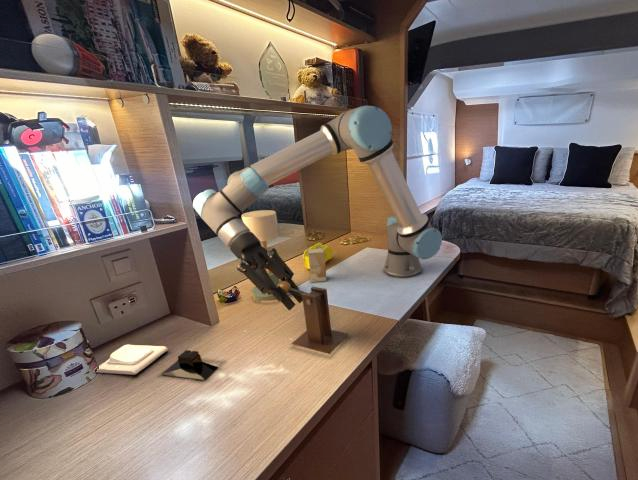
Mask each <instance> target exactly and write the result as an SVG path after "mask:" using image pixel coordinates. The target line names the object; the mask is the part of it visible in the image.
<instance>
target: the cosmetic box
mask: <svg viewBox="0 0 638 480" xmlns="http://www.w3.org/2000/svg"><path fill="white" fill-rule="evenodd" d="M307 251H308V256H309V266H310V269H309V275H310V282H311V283H317V282H327V268H326V262H325V254H324V249H314V250H307Z"/></svg>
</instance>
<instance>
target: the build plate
mask: <svg viewBox="0 0 638 480" xmlns="http://www.w3.org/2000/svg"><path fill="white" fill-rule="evenodd" d="M201 356H202V355H201V354H200V353H199V351H198V350H188V349H185V350H184V351H183V352H181V353H180V354H179V355H178V356H177V360H176V361H175V362H174V363H173V364H171V365H170V366H169V367H168V368H166V369H165V370H164V371H163V372H162V373H161V376H162V377H163V376H164V377H171V378H180V379H185V380H186V379H187V380H194V381H196V382H204V381H207V380H208V378H209V377H211V376H212V374H213V373H214V372H215V371H216V370H217V369H218V368H219V366H217V365H213V364H210V363H207V362H205V361H203V360H202V359H203V358H202V357H201Z"/></svg>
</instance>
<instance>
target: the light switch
mask: <svg viewBox="0 0 638 480" xmlns="http://www.w3.org/2000/svg"><path fill="white" fill-rule="evenodd" d="M167 351H169V350H168V347H167V346H164V345H141V344H124V345H123V346H120V348H118V349H116V350H115V351H113V352H112V353H111V354H110V355H109V358H108V359H107V360H106V361H105V362H103V363H101V364H100V365H98V366H99V369H97V371H96V372H95V373H100V374H117V375H132V376H135V375H137V374H139V372H141V371H142V370H144V369H145V368H146V367H148V366H149V365H150V364H152V363H153V362H154V361H156V360H157V359H158V358H159V357H161V356H162V355H163V354H164V353H166V352H167Z"/></svg>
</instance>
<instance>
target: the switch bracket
mask: <svg viewBox="0 0 638 480" xmlns="http://www.w3.org/2000/svg"><path fill="white" fill-rule="evenodd" d="M312 291H315V292H319V293H322V302H320V303H319V299H318V295H314V294H308V293H309V292H307V293H303V294H302V300H303V301H302V305H303V312H304V319H305V328H306V331H304V332H303V333H302V334H301V335H300V336H298V337H297V338H296V339H295V340H293V341H292V342H291V344H290V345H294V346H297V347H301V348H305V349H309V350H311V351H312V350H313V351H316V352H320V353H325V354H327V355H330V354H331V352H332V351H334V350H335V349H336V348H337V347H338V345H339V344H340V343H341V342H342V341H344V340H345V338H346V337H347V336H348V335H349V333H348V332H343V331H338V330H333V329H332V326H331V325H332V324H331V316H330V309H329V308H330V306H329V297H328V290H327V288H324V287H317V286H312V287H310V292H312Z"/></svg>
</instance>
